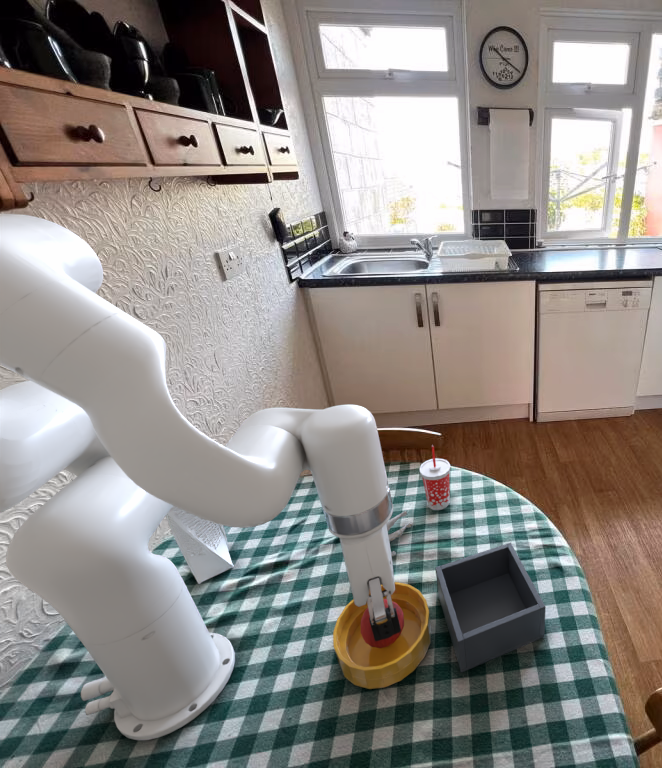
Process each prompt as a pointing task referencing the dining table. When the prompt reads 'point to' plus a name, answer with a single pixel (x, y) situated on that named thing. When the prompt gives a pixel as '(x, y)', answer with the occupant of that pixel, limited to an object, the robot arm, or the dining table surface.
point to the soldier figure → (399, 532)
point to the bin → (489, 605)
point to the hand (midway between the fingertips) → (383, 603)
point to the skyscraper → (200, 544)
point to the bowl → (388, 662)
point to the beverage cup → (436, 482)
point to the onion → (368, 633)
